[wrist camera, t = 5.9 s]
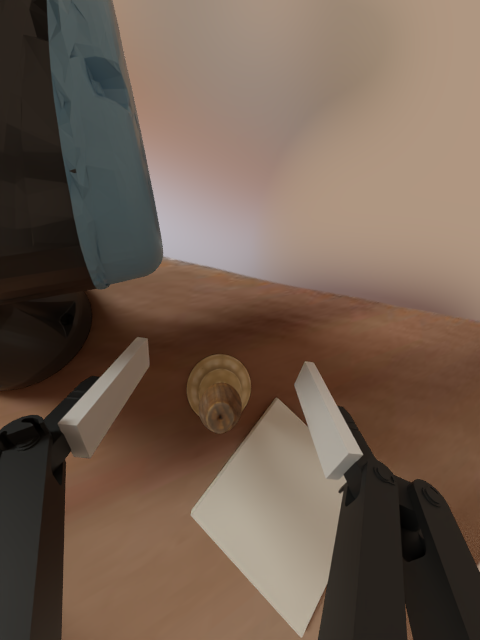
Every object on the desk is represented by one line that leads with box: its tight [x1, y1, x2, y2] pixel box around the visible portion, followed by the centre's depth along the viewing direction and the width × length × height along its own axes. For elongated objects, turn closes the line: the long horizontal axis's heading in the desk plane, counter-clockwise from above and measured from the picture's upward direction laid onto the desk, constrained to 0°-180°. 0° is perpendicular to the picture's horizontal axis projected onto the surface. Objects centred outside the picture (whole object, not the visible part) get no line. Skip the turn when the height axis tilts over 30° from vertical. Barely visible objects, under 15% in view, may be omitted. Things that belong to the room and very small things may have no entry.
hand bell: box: [187, 354, 251, 434], centre depth 16 cm, size 8×8×16 cm
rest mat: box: [191, 398, 346, 638], centre depth 20 cm, size 15×15×1 cm
